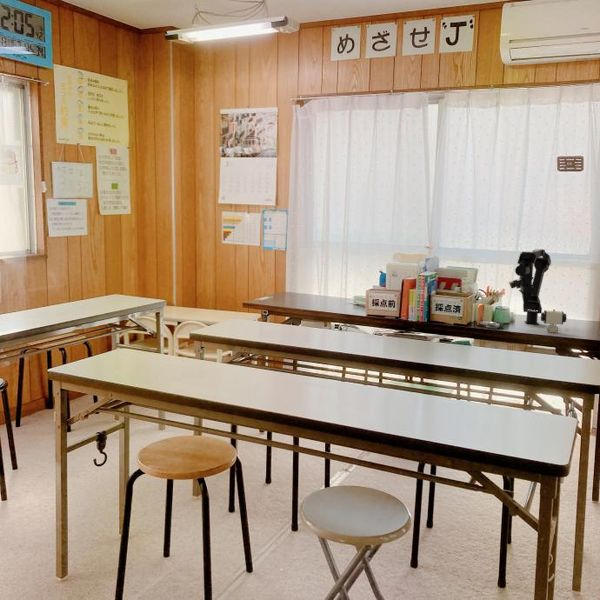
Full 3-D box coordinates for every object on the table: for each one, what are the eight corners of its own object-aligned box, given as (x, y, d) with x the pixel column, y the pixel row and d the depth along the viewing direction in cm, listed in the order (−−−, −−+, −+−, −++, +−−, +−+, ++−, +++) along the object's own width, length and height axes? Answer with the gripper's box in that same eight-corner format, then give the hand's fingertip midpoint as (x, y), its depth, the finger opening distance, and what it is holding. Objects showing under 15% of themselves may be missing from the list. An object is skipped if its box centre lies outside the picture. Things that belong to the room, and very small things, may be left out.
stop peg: (496, 327, 331) (497, 322, 331) (502, 327, 331) (503, 322, 331) (497, 328, 328) (498, 323, 328) (503, 328, 328) (504, 323, 328)
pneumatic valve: (565, 333, 317) (567, 310, 315) (540, 332, 320) (542, 309, 318) (563, 331, 322) (565, 308, 320) (539, 330, 325) (541, 307, 323)
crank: (500, 327, 328) (501, 306, 327) (495, 328, 326) (496, 307, 324) (480, 324, 338) (481, 303, 336) (475, 324, 335) (476, 304, 334)
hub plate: (484, 326, 334) (484, 324, 333) (497, 326, 333) (497, 324, 333) (486, 328, 327) (486, 326, 327) (500, 329, 326) (500, 327, 326)
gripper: (507, 272, 340) (505, 300, 343) (514, 276, 322) (512, 305, 324) (528, 273, 339) (526, 301, 341) (536, 276, 321) (534, 306, 323)
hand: (524, 303), depth 332 cm, fingers closed
